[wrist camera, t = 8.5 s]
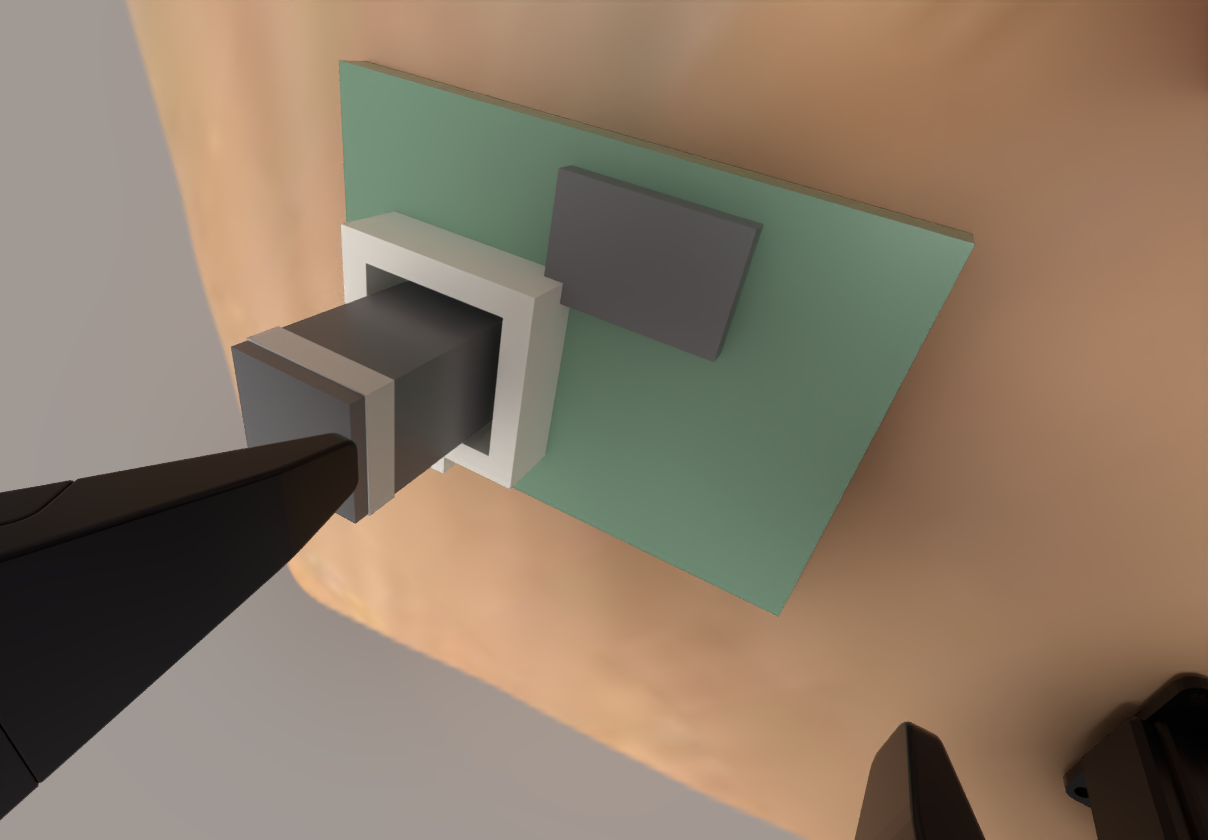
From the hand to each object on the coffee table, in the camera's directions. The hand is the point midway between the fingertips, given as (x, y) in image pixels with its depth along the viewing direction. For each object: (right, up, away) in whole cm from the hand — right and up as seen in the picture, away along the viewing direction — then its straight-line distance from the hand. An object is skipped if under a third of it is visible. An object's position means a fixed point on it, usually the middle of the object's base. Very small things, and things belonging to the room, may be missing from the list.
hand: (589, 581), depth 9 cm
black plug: (-5, +5, +14) cm, 15 cm away
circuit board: (0, +5, +13) cm, 14 cm away
